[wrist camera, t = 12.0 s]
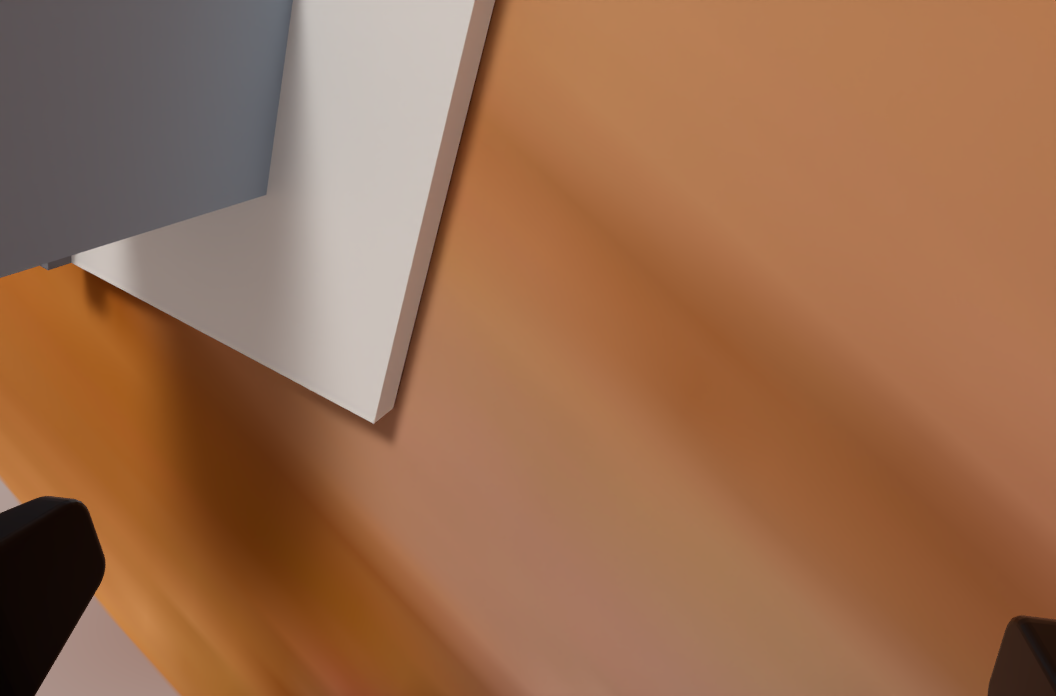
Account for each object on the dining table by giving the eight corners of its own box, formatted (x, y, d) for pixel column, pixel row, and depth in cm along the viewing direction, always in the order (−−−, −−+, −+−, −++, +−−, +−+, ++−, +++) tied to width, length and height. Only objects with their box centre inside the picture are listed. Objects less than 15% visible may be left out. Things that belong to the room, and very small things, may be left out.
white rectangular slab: (560, -261, 16) (522, -288, 14) (392, 408, 23) (357, 437, 22) (82, -401, 18) (7, -437, 17) (74, 241, 26) (22, 256, 25)
